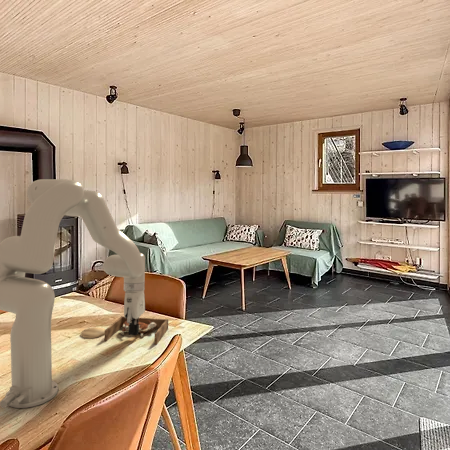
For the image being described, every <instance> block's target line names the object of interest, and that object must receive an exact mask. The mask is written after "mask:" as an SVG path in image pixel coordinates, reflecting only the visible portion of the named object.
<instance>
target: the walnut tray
mask: <svg viewBox="0 0 450 450" xmlns="http://www.w3.org/2000/svg"><path fill="white" fill-rule="evenodd" d="M149 320H150V322H151V323H152V322H154V323H156V326H155V327H154V330H157V331H156V332H155V333H154V345H155V346H157V345H158V344H159V342H161V340H162V338H163V337H164V336H165V334H166V332H168V331H169V319H167V318H166V319H164V318H163V319H162V318H151V317H139V322H141V323H145V324H150V323H149ZM125 321H127V318H125V317H124V316H120V317H119V318H118V319H116V320H115V321H114V322H113V323H111V325H109V326H108V327H107V328H106V329H105V335H104V342H107V341H109V340H110V338H112V337H113V336H114V335H115V334H117V332H119V330H121V329H122V328H124V327H123V323H125ZM150 330H153V329H152V328H151V329H150Z"/></svg>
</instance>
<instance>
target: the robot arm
mask: <svg viewBox="0 0 450 450" xmlns="http://www.w3.org/2000/svg"><path fill="white" fill-rule="evenodd" d="M26 197H27V199H28V201H29V203H30V205H29V207H28V209H27V210H26V212H25V215H24V219H23V222H22V228H21V231H20V232H21V233H20V235H13V236H9V237H5V238H4V239H3V240H2V241H1V242H0V311H2V312H3V311H4V312H7V313H12V314H13V315H15V318H14V322H13V324H12V325H11V330H10V338H9V339H10V373H11V385H10V387H9V390H8V391H7V392H6V394H5V395H4V396H5V397H4V398H3V399H2V400H0V407H1V408H2V409H5V408H6V407H8V406H9V407H11V408H15V409H17V408H18V409H27V408H33V407H37V406H40V405H42V404H45V403H47V402H49V401H51V400H53V398H55V396H57V394H58V392H59V384H58V383H57V382H56V381H55V380H53V379H52V378H53V377H52V376H53V374H52V373H53V371H52V369H53V367H52V366H53V365H52V318H53V317H52V316H53V310H54V306H55V300H56V299H55V298H56V295H55V291H54V289H53V287H52V286H51V285H50V284H49V283H48V282H45V281H44V280H40V279H38V278H37V279H36V278H30V277H26V274H35V275H39V274H45V273H46V272H48V271H50V270H51V268H52V266H53V264H54V260H55V253H56V247H57V246H56V245H57V239H58V232H59V231H58V230H59V226H60V223H61V221H62V219H63V218H64V217H65V216H67V217H77V218H78V217H80V219H82V221H83V222H84V225H85V227H86V229H87V231H88V232H89V235H90V237H91V239H92V240H93V241H94V242H95V243H97V244H98V245H100V246H101V247H103V248H105V249H108V250H110V251H112V252H113V253H115V254H111V255H109V256H108V257H106V258H105V259H104V261H103V263H102V268H103V271H104V272H105V274H107V275H110V276H112V277H117V278H123V292H125V293H124V302H123V303H124V304H123V317H125V318H127V323H129V331H128V335H130V336H137V335H138V334H139V318H141V316H143V314H144V313H145V311H146V302H145V297H146V296H145V283H146V280H145V277H146V274H145V273H146V258H145V257H146V256H145V253H144V254H143V253H142V252H140V250H139V248H138V246H137V245H136V244H135V243H134V241H133V240H132V239H130V238H129V237H128V236H127V235H126V234H125V233H123V231H121V230H120V229H119V228H118V226H117V224H116V222H115V221H114V220H115V219H114V218H113V216H112V213H111V211H110V209H109V206H108V205H107V203H106V200H105V198H104V197H103V195H102V194H101V193H99V192H97V191H96V190H89V189H88V190H86V189H84V187H83V184H81V183H80V182H78V181H77V180H73V179H68V178H66V179H63V178H60V179H59V178H57V179H49V178H48V179H47V178H45V179H37V180H34V181H32V182H31V183H30V184H29V185H28V187H27V189H26Z"/></svg>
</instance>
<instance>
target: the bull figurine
mask: <svg viewBox="0 0 450 450" xmlns="http://www.w3.org/2000/svg"><path fill="white" fill-rule="evenodd" d="M149 323H150V324H145V323H141V322H139V333H140V336H139V337H141V338H144V334H145V333H147V332H148V331H150V330H152V331H154V330H155V329H154V327H155V326H156V323H154V322H152V323H151V322H150V320H149ZM122 328H123V329H122V330H121V332H120V334H121V335H122V336H123V335H125V332H129V323H127V321H125V323H123V327H122ZM151 328H152V329H151ZM139 333H138V334H139Z"/></svg>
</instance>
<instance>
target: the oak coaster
mask: <svg viewBox="0 0 450 450" xmlns="http://www.w3.org/2000/svg"><path fill="white" fill-rule="evenodd" d="M105 330H106V329H105V328H103V327H99V326H98V327H89V328H86V329H84V330H82V331H81V332H80V333H81V334H80V336H81V337H82V338H84V339H97V338H101V337H103V336H105Z"/></svg>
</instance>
